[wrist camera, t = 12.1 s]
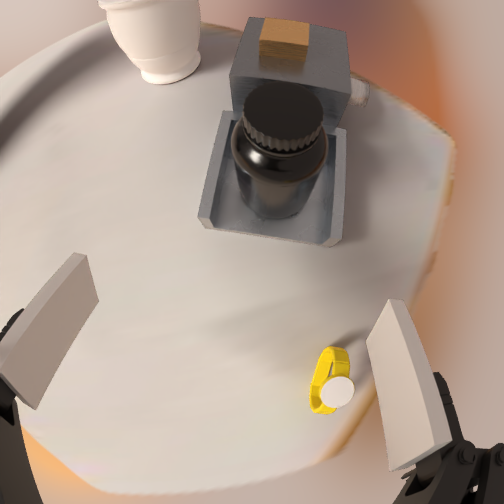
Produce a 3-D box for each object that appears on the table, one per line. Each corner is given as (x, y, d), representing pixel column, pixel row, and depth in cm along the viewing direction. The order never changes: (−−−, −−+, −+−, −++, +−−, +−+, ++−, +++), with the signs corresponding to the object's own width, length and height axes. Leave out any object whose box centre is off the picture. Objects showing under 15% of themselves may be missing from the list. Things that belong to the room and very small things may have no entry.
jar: (223, 65, 30) (211, -30, 15) (153, 104, 29) (109, 13, 14) (186, 35, 31) (168, -42, 17) (125, 68, 31) (88, -6, 16)
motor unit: (205, 228, 27) (174, 183, 16) (242, 70, 30) (238, 2, 19) (349, 250, 26) (404, 221, 15) (351, 88, 29) (378, 26, 18)
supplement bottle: (290, 146, 27) (308, 61, 15) (321, 204, 26) (365, 137, 14) (227, 170, 27) (209, 87, 15) (255, 232, 26) (254, 175, 14)
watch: (325, 400, 24) (340, 428, 18) (298, 395, 24) (308, 424, 18) (343, 344, 25) (365, 361, 19) (316, 339, 25) (332, 356, 19)
